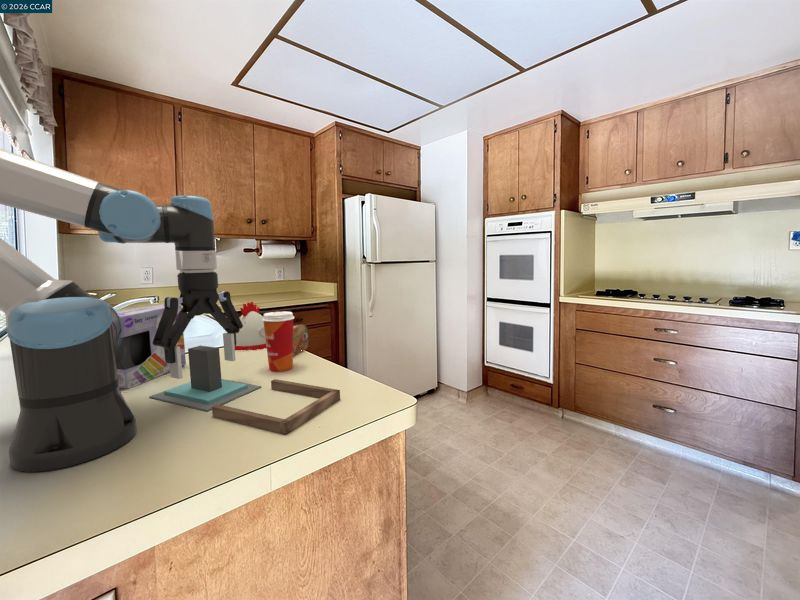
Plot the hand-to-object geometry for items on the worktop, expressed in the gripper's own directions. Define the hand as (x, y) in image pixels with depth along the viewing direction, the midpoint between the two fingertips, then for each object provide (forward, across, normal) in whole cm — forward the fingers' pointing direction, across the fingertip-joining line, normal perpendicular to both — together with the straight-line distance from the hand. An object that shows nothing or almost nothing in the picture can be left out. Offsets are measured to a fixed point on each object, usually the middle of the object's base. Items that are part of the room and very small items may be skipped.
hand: (205, 368), depth 80 cm
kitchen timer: (+6, +36, +24) cm, 44 cm away
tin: (+6, +34, +4) cm, 35 cm away
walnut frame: (+6, 0, -20) cm, 21 cm away
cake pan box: (+6, +2, +23) cm, 24 cm away
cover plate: (+5, 0, 0) cm, 5 cm away
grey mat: (+6, 0, 0) cm, 6 cm away
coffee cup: (+6, +20, -3) cm, 21 cm away
